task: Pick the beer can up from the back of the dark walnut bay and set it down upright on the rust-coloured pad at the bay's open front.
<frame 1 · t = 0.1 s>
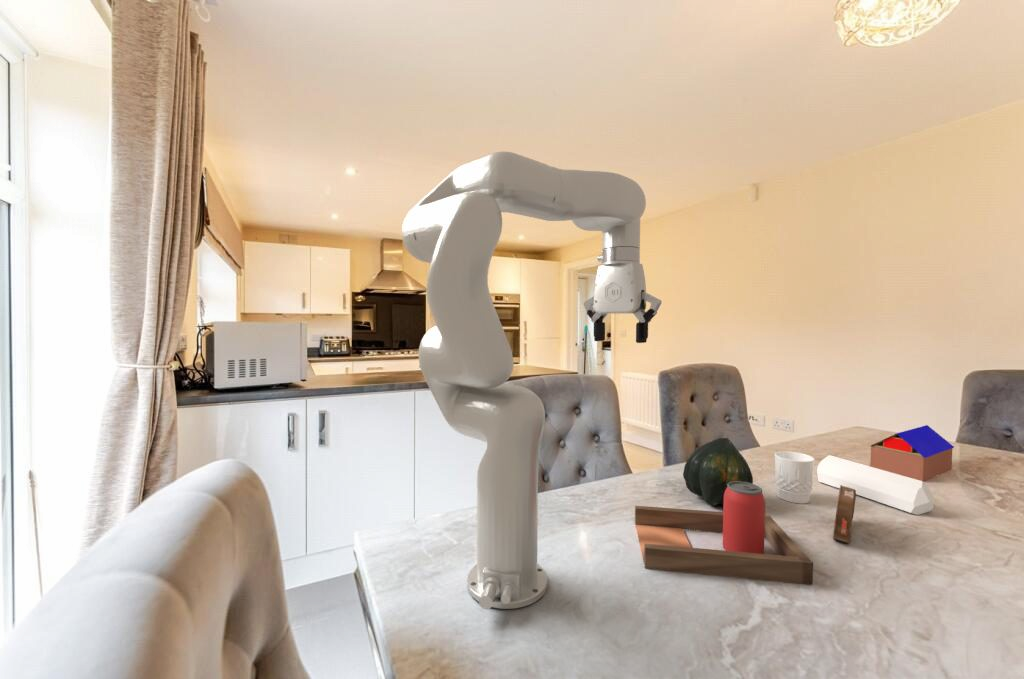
hand: (619, 341, 90), 37 cm above the table, tool pointing down, fingers open, 9 cm apart
house: (910, 470, 123), on the table
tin: (843, 534, 86), on the table
beer can: (742, 553, 79), resting in bay
squash: (716, 500, 102), on the table
crystal: (870, 497, 104), on the table
white cup: (792, 498, 103), on the table
bay: (707, 548, 80), on the table
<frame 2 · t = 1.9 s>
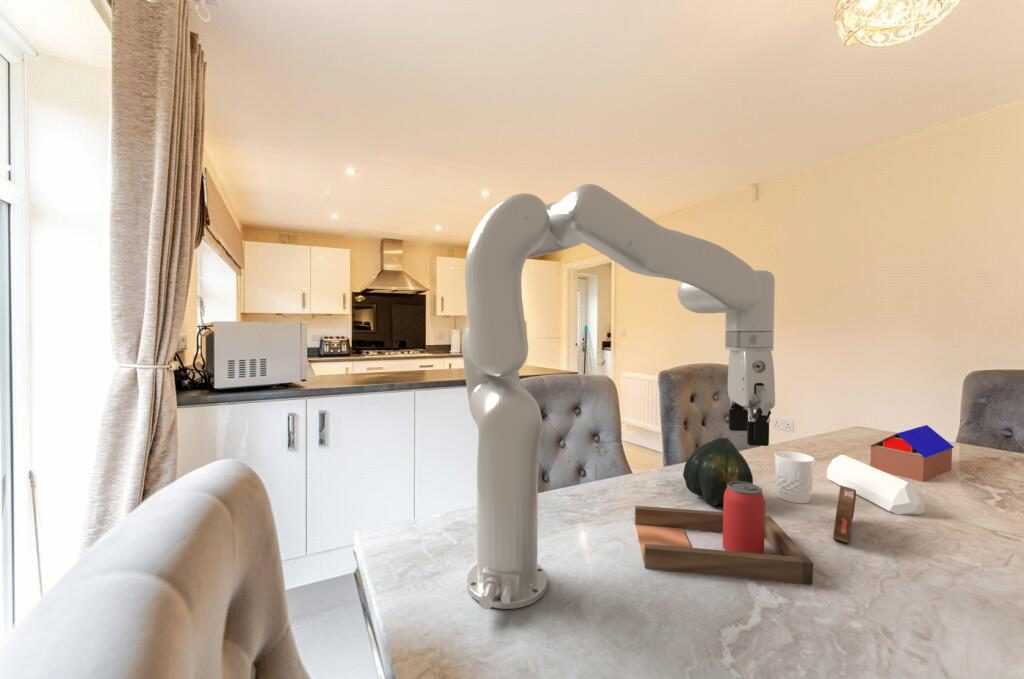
hand: (747, 437, 78), 21 cm above the table, tool pointing down, fingers open, 9 cm apart
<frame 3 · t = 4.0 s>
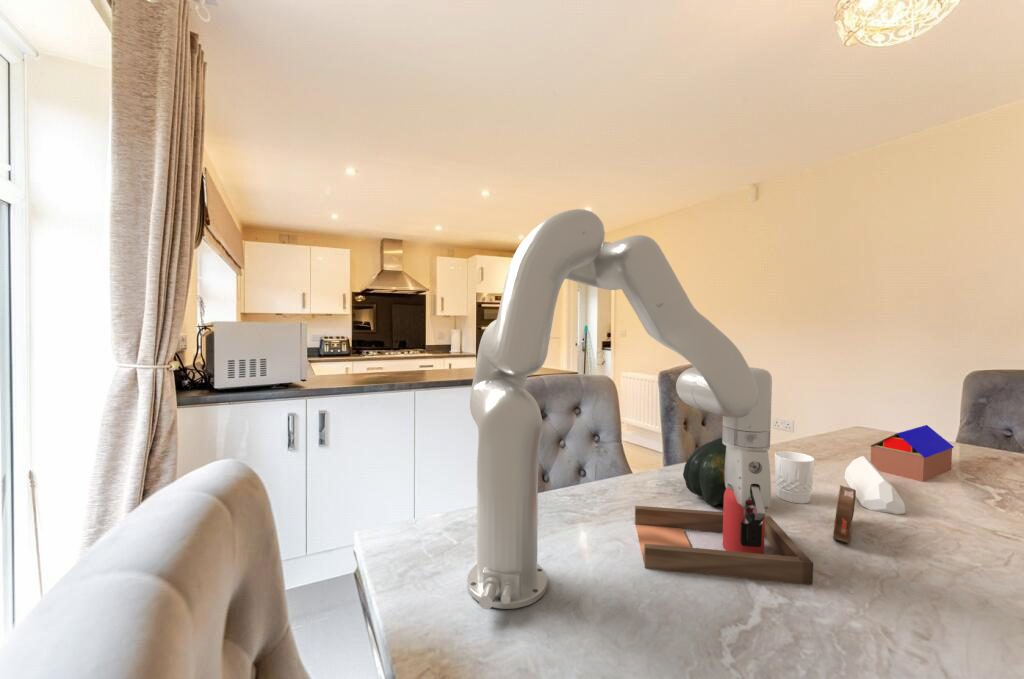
hand: (743, 534, 78), 3 cm above the table, tool pointing down, fingers closed on beer can, 6 cm apart
beer can: (742, 553, 79), resting in bay, touching gripper
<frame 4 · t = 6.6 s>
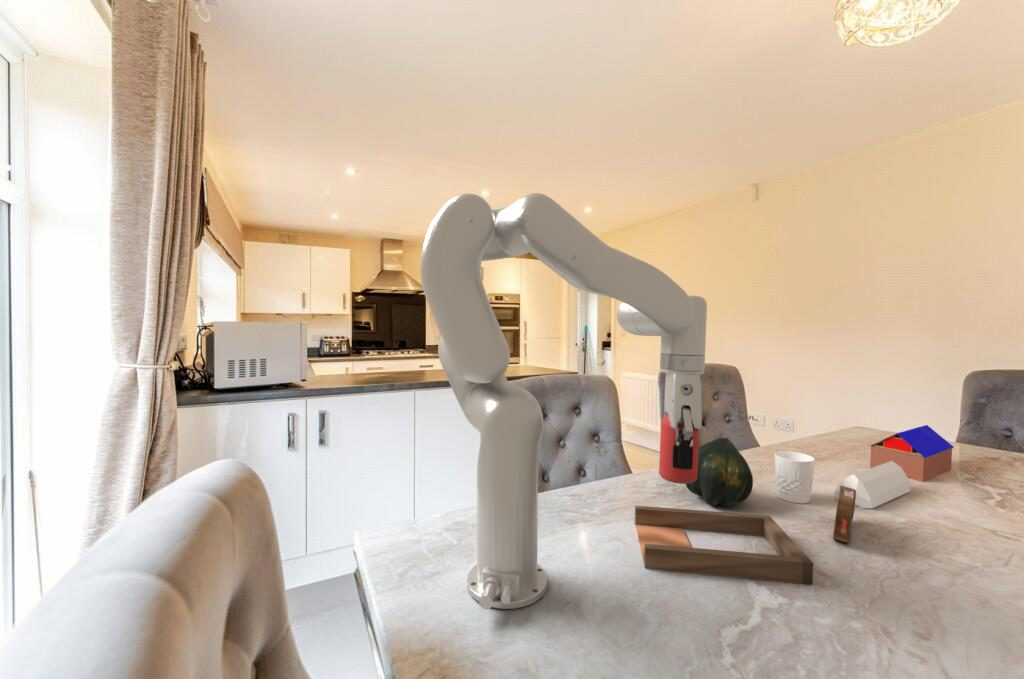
hand: (678, 461, 80), 16 cm above the table, tool pointing down, fingers closed on beer can, 6 cm apart
beer can: (677, 479, 80), point 13 cm above the table, touching gripper
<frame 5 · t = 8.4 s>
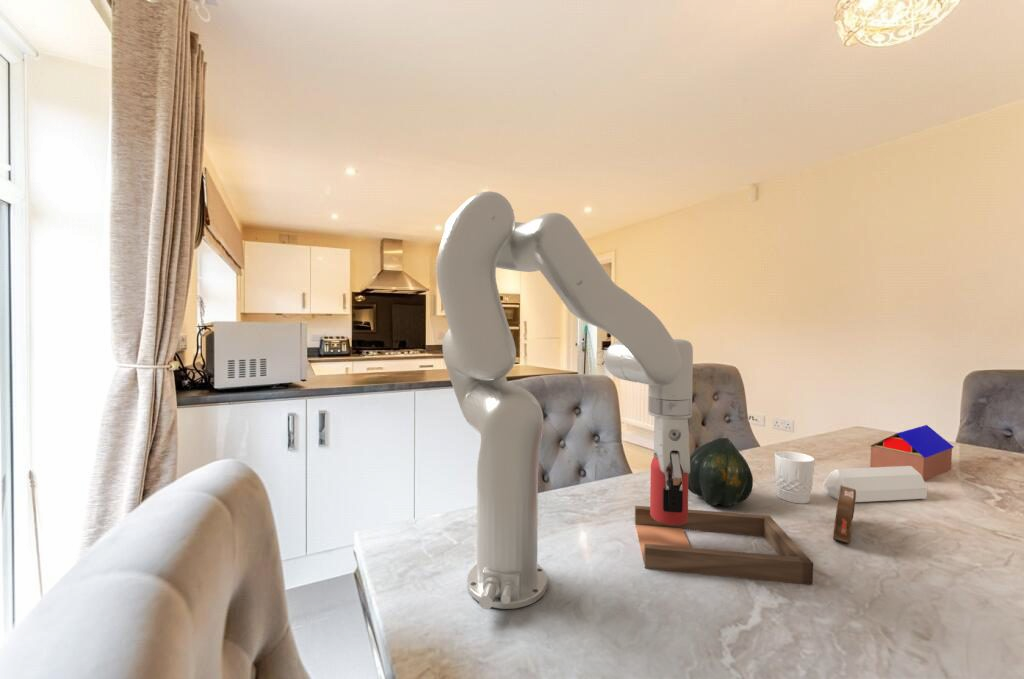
hand: (668, 501, 81), 8 cm above the table, tool pointing down, fingers closed on beer can, 6 cm apart
beer can: (668, 519, 81), point 5 cm above the table, touching gripper
when the fingers open (5 cm above the table, at t = 9.6 s): beer can drops 1 cm, resting on bay.
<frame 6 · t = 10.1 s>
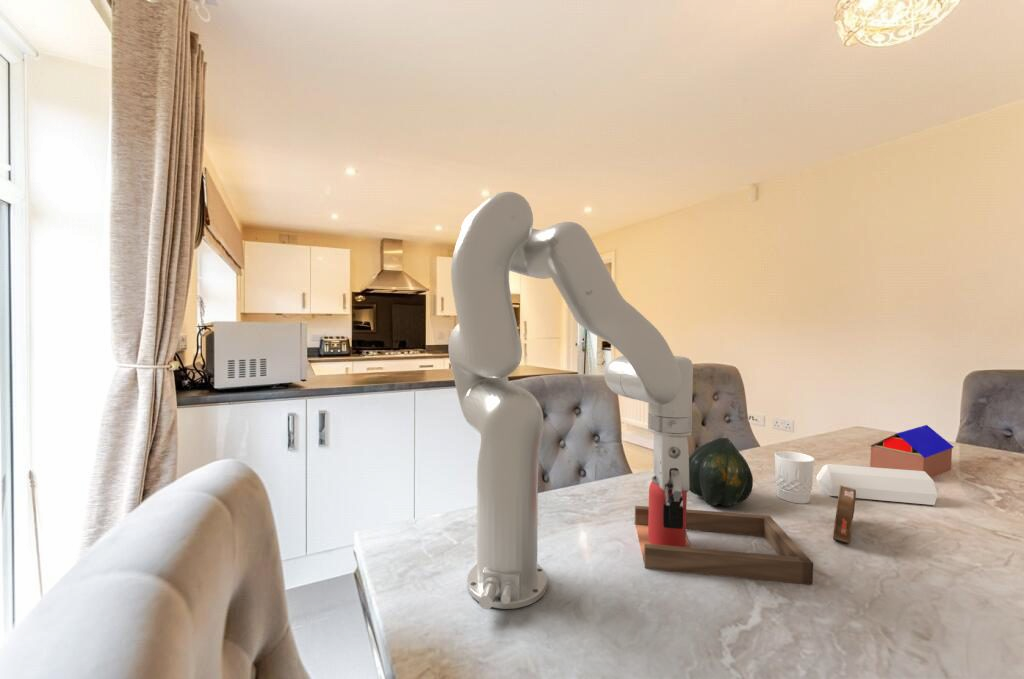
hand: (667, 515, 81), 6 cm above the table, tool pointing down, fingers open, 9 cm apart
beer can: (666, 544, 81), resting on bay
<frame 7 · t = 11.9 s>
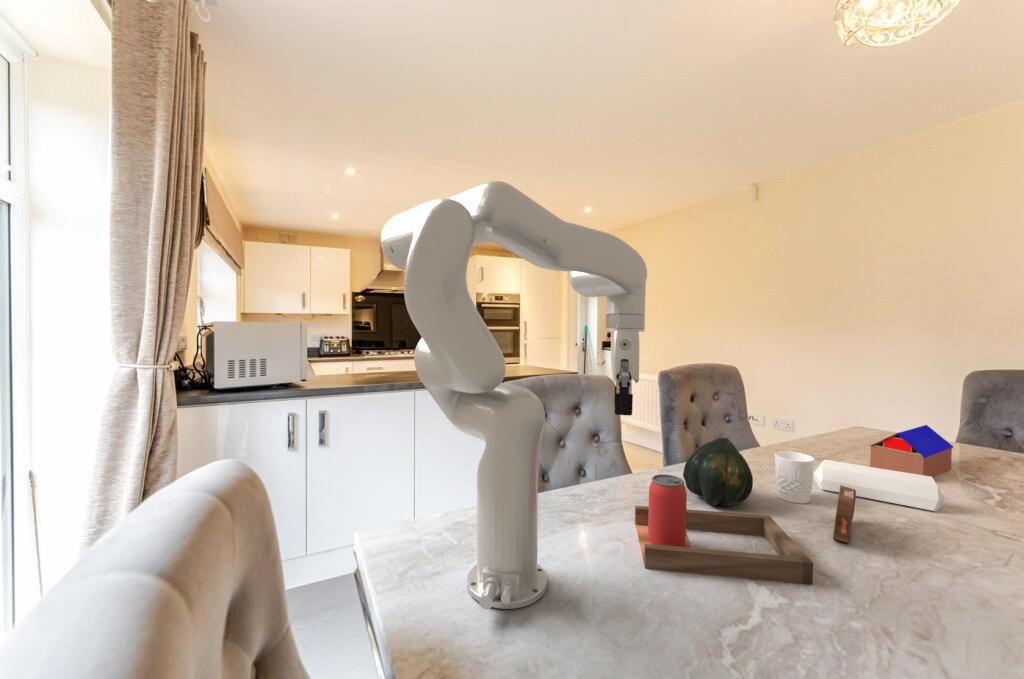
hand: (622, 409, 87), 24 cm above the table, tool pointing down, fingers open, 9 cm apart
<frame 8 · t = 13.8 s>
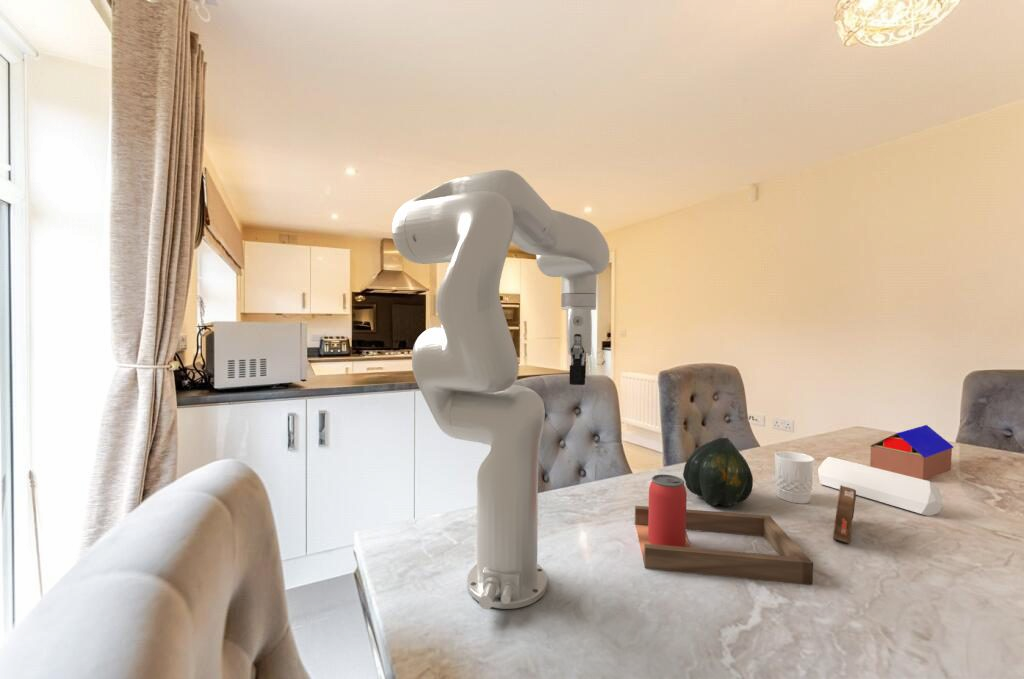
hand: (577, 381, 95), 28 cm above the table, tool pointing down, fingers open, 9 cm apart
at the end: beer can 0.1 cm from the target spot on the bay, point 0.2 cm above the bay's base; beer can tilted 0°; the gripper is holding nothing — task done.
